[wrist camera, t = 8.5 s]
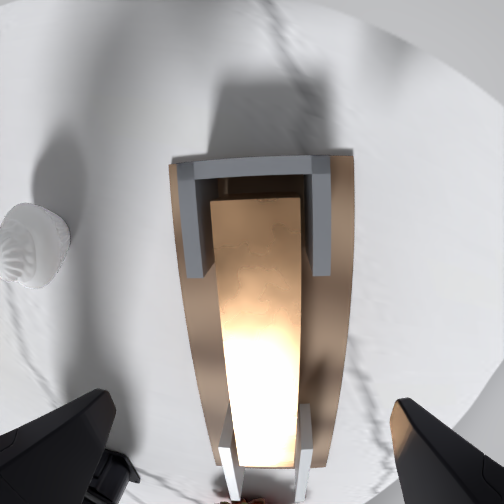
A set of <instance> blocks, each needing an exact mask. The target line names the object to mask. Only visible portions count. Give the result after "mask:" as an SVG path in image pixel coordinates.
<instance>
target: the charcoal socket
mask: <svg viewBox="0 0 504 504" xmlns="http://www.w3.org/2000/svg"><path fill="white" fill-rule="evenodd" d="M176 167H177V181H178V195H179V207H180V218H181V229H182V238H183V248H184V257H185V265H186V274H187V278H204V277H205V275H206V274H207V272H208V271H209V269H210V268H211V267H212V265H213V264H214V262H215V257H214V246H213V233H212V221H211V207H210V201H212V200H214V199H216V198H219V194H218V179H217V178H224V177H240V176H260V175H288V174H304V205H305V250H306V253H307V257H308V260H309V264H310V267H311V271H312V275H313V276H330V274H331V172H330V155H292V156H264V157H245V158H229V159H216V160H205V161H194V162H184V163H176Z"/></svg>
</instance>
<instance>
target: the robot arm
mask: <svg viewBox="0 0 504 504" xmlns="http://www.w3.org/2000/svg"><path fill="white" fill-rule="evenodd" d="M115 414H116V408H115V405H114V403H113V400H112V398H111V396H110V393H109V392H108V391H107V390H103V389H98V388H97V389H94V390H93V391H91V392H89V393H87V394H85V395H83V396H81V397H79V398H77V399H75V400H73V401H71V402H69V403H67V404H65V405H64V406H62V407H60V408H58V409H56V410H54V411H52V412H50V413H47V414H45V415H43V416H41V417H39V418H37V419H35V420H33V421H31V422H29V423H27V424H25V425H23V426H21V427H19V428H16V429H14V430H12V431H10V432H8V433H5V434H3V435H1V436H0V504H118V503H119V501H120V499H121V497H122V495H123V492H124V490H125V488H126V486H127V484H128V482H129V481H131V482H135V483H140V479H139V477H138V476H137V474H136V473H135V471H134V469H133V468H132V466H131V464H130V462H129V461H128V459H127V457H126V456H124V455H122V454H119V453H115V452H112V451H108V450H105V446H106V443H107V440H108V436H109V433H110V430H111V427H112V424H113V421H114V418H115ZM390 428H391V434H392V441H393V449H394V456H395V463H396V468H397V472H398V476H399V480H400V484H401V489H402V492H403V497H404V501H405V504H504V467H502V466H501V465H499V464H498V463H497V462H495V461H494V460H492V459H491V458H489V457H488V456H486V455H484V453H483V452H481V451H480V450H478V449H477V448H476V447H474V446H473V445H472V444H470V443H469V442H468V441H466V440H465V439H464V438H462V437H461V436H460V435H458V434H457V433H456V432H454V431H453V430H452V429H450V428H449V427H448V426H446V425H445V424H444V423H442V422H441V421H440V420H438V419H437V418H436V417H434V416H433V415H432V414H431V413H429V412H428V411H427V410H425V409H424V408H423V407H421V406H420V405H419V404H417V403H416V402H415V401H414V400H412V399H411V398H401V399H397V400H396V402H395V404H394V408H393V411H392V414H391V417H390Z"/></svg>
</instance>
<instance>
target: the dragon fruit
mask: <svg viewBox="0 0 504 504" xmlns="http://www.w3.org/2000/svg"><path fill="white" fill-rule="evenodd" d="M231 502H232V503H231V504H265V499H263V498H258V499H252V501H251V502H249V503H247V502H246V500H245V499H242V498H241V499H240V501H233V500H232V501H231ZM220 504H230V503H228V502H220Z"/></svg>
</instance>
